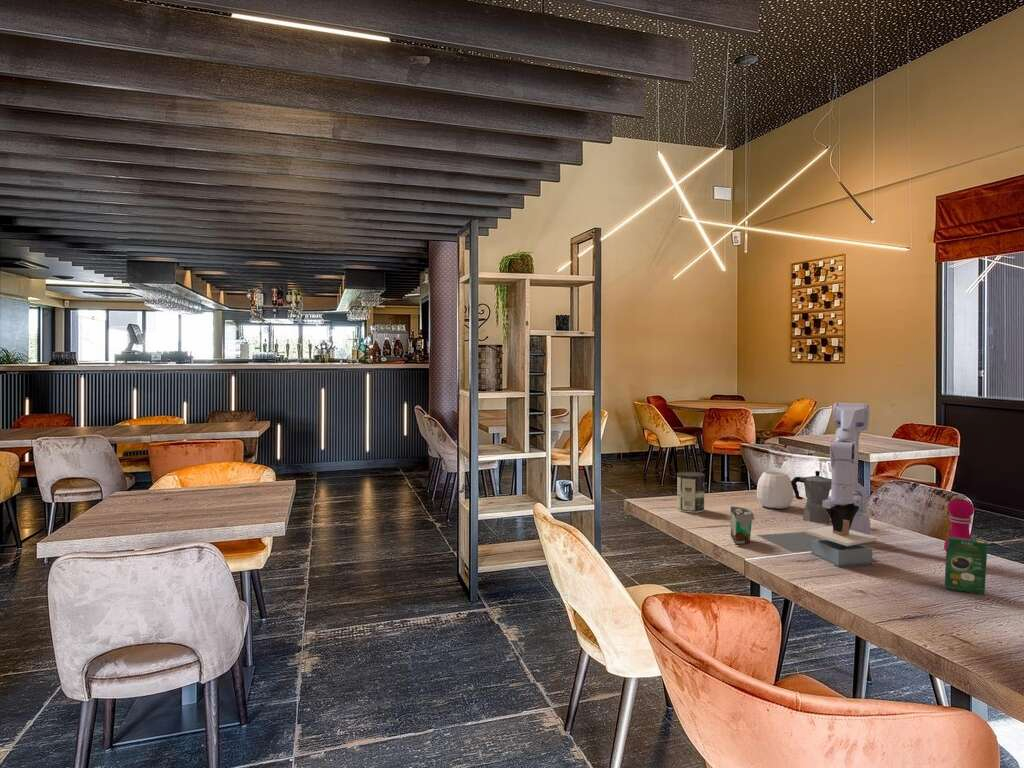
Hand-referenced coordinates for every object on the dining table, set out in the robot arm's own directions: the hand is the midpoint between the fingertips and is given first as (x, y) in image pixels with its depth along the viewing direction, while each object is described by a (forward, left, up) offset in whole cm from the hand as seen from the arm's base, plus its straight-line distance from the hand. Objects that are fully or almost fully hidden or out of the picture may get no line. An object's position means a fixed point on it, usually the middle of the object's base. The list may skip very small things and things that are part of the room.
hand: (841, 530), depth 176 cm
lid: (0, 0, -2) cm, 2 cm away
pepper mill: (-30, +10, -9) cm, 33 cm away
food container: (+18, -21, -9) cm, 29 cm away
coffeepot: (-22, -40, -9) cm, 47 cm away
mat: (0, -17, -9) cm, 19 cm away
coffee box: (-13, +27, -9) cm, 31 cm away
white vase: (-21, -61, -9) cm, 65 cm away
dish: (0, 0, -9) cm, 9 cm away
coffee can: (+14, -63, -9) cm, 65 cm away
